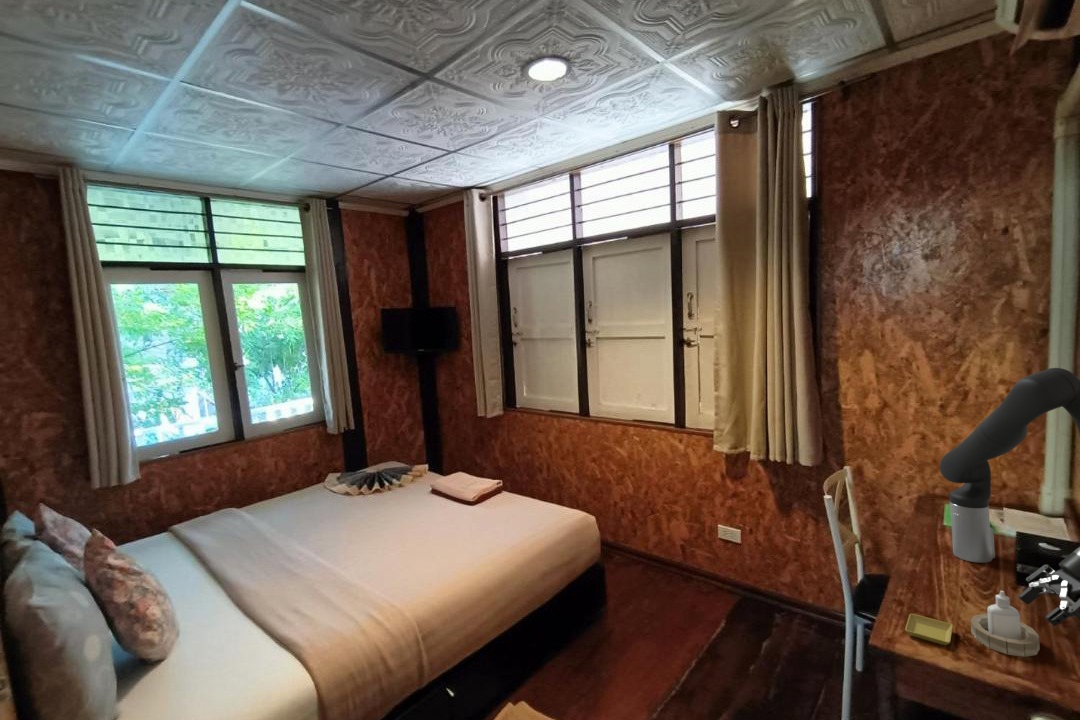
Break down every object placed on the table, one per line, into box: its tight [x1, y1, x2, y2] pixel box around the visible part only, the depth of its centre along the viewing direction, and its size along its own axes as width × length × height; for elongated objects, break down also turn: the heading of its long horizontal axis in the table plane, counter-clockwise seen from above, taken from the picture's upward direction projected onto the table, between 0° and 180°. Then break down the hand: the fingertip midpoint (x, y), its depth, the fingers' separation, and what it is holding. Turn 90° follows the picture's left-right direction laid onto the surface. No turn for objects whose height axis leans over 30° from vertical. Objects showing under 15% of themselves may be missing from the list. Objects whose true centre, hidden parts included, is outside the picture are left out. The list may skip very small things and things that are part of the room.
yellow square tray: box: [904, 613, 954, 646], centre depth 120 cm, size 9×9×2 cm
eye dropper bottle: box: [986, 590, 1023, 640], centre depth 114 cm, size 4×6×12 cm
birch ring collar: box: [970, 613, 1041, 658], centre depth 115 cm, size 11×11×3 cm
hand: (1035, 611), depth 113 cm, fingers open, 8 cm apart
